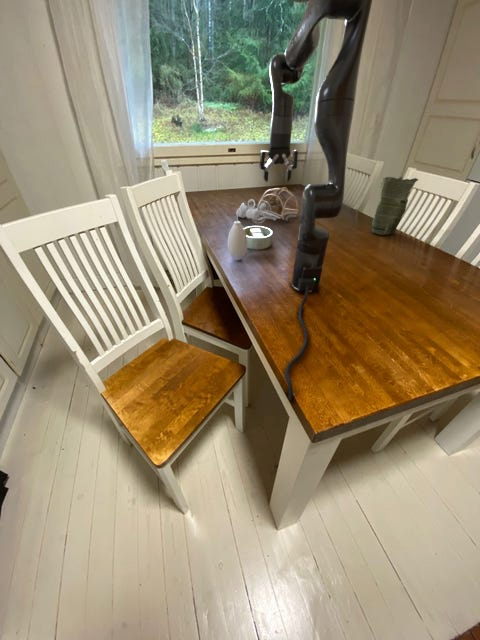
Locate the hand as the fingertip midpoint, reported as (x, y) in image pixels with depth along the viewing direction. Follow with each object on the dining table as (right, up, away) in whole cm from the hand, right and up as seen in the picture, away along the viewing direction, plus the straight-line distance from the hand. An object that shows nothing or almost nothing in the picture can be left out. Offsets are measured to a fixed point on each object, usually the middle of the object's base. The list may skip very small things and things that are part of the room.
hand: (276, 181), depth 108 cm
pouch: (+56, -11, +28) cm, 64 cm away
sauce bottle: (-16, -30, +4) cm, 34 cm away
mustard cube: (-8, -18, +18) cm, 27 cm away
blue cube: (-7, -21, +14) cm, 27 cm away
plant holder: (+1, +2, +44) cm, 44 cm away
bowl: (-7, -20, +16) cm, 27 cm away
